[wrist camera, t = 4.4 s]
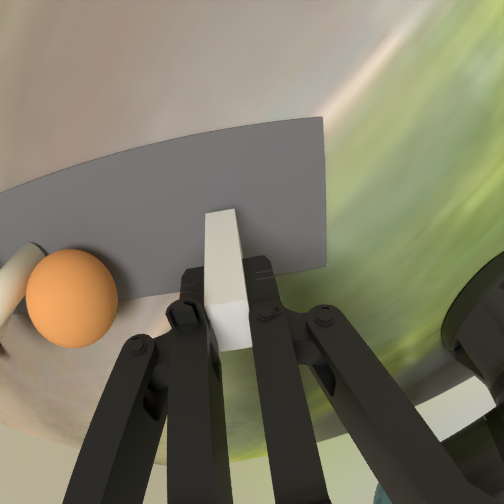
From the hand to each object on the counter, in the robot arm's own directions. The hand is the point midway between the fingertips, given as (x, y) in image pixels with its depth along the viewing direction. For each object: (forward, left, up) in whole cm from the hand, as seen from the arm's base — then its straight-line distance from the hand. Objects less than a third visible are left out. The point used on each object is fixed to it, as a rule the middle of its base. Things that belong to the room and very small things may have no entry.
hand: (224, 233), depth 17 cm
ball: (+8, +6, +1) cm, 10 cm away
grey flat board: (+7, +3, -2) cm, 8 cm away
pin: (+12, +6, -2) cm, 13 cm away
